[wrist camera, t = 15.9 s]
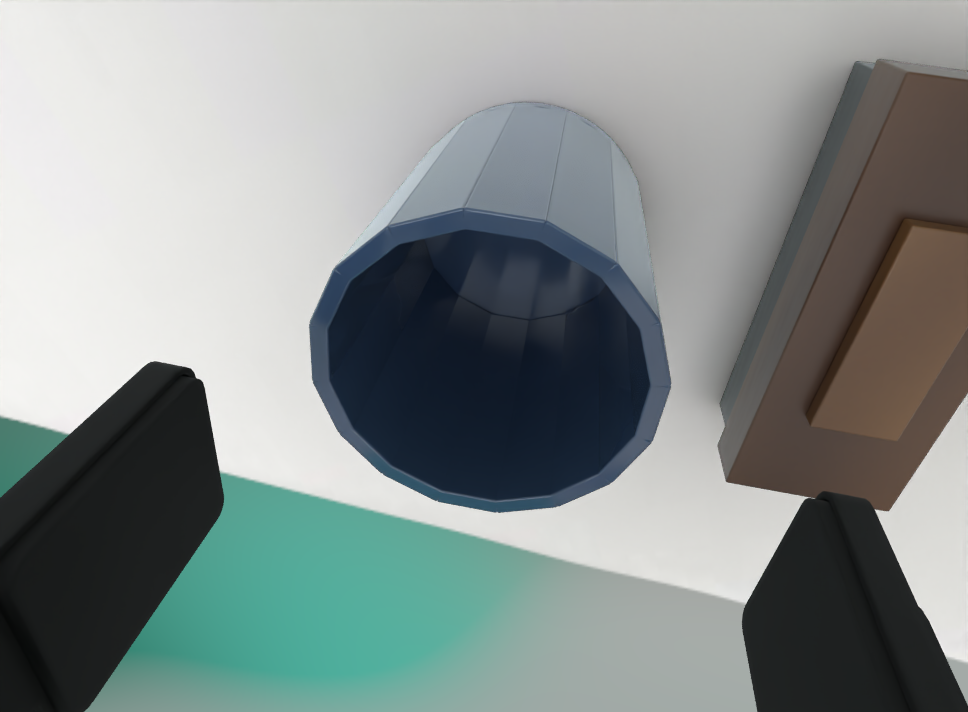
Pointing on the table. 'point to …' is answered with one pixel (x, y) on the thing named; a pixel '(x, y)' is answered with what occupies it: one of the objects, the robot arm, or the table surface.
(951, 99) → the brown box
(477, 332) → the cup
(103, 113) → the table surface
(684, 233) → the table surface
